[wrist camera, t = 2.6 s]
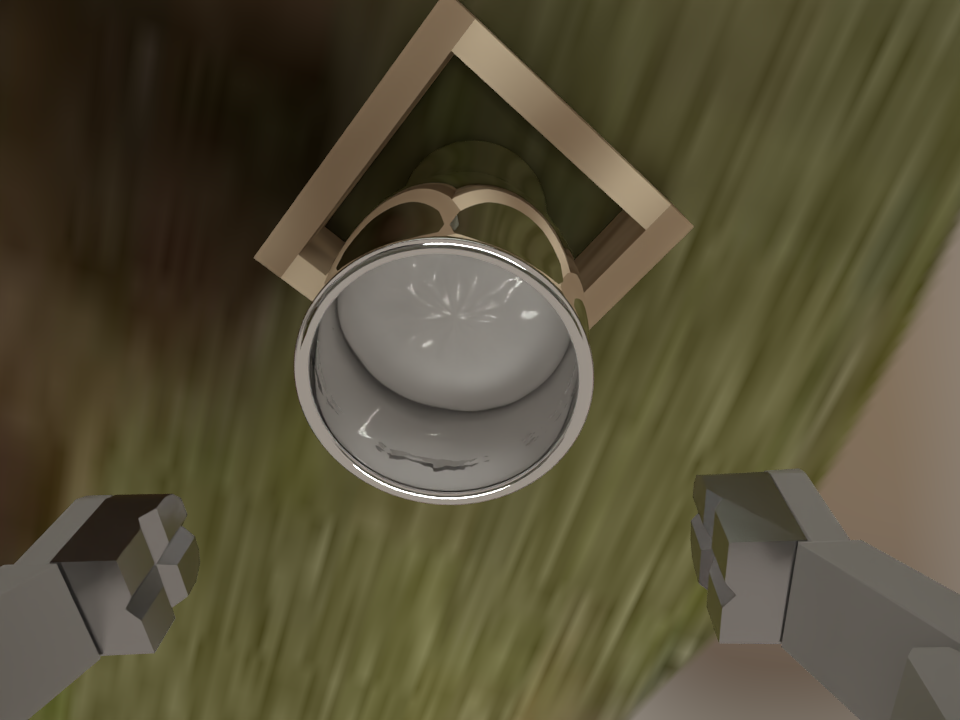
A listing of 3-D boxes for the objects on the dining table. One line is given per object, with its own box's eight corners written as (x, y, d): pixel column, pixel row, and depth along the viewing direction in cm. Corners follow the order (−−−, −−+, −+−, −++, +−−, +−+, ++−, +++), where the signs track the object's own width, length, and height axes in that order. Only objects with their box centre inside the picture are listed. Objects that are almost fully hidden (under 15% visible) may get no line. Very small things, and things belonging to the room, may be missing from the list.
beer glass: (434, 94, 26) (356, 163, 13) (589, 180, 27) (669, 326, 14) (364, 249, 29) (240, 439, 15) (507, 319, 30) (507, 554, 17)
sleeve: (285, 229, 29) (253, 257, 25) (454, -4, 24) (445, -10, 21) (488, 385, 31) (486, 430, 28) (669, 201, 27) (694, 226, 24)
